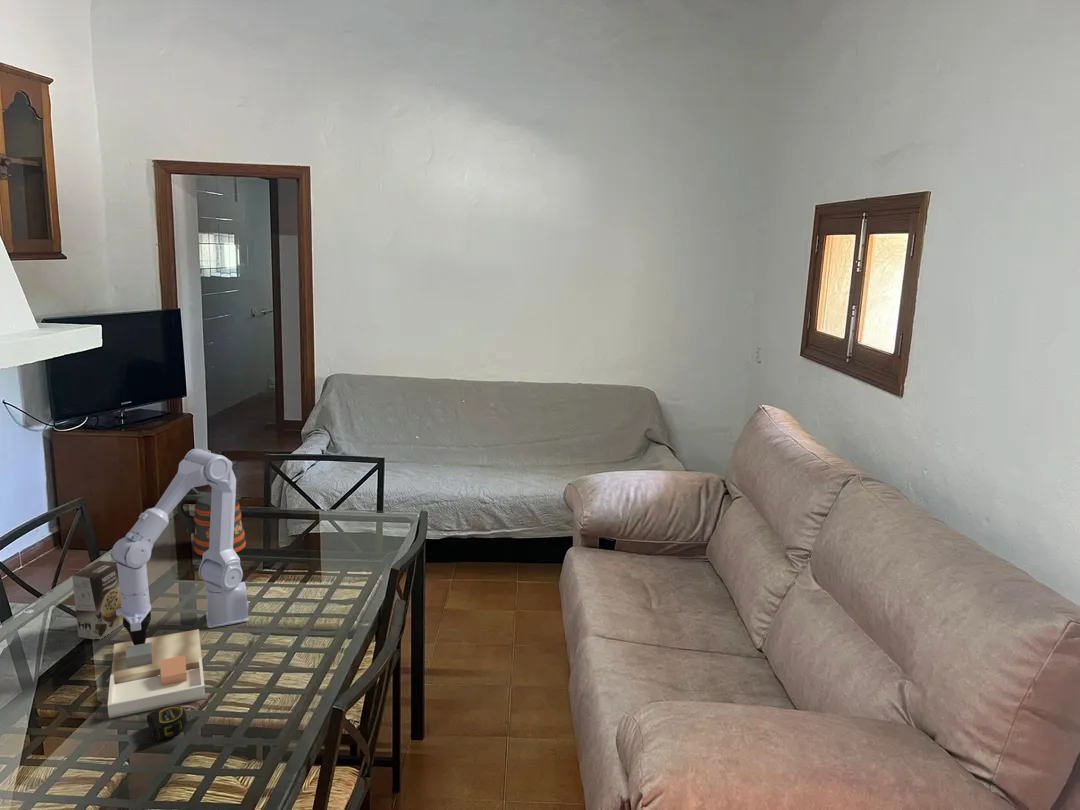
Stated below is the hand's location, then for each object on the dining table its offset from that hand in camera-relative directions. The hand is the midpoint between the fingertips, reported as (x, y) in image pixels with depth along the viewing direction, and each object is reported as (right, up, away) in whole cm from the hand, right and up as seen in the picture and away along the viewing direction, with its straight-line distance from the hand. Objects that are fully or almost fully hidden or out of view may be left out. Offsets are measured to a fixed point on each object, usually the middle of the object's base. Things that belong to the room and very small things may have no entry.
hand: (139, 644), depth 183 cm
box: (+10, -7, -12) cm, 17 cm away
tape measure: (+17, -10, -24) cm, 32 cm away
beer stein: (-8, +11, +59) cm, 61 cm away
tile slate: (+2, -2, -4) cm, 5 cm away
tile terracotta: (+11, -4, -8) cm, 14 cm away
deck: (+4, -3, 0) cm, 5 cm away
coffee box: (-15, 0, +12) cm, 19 cm away
